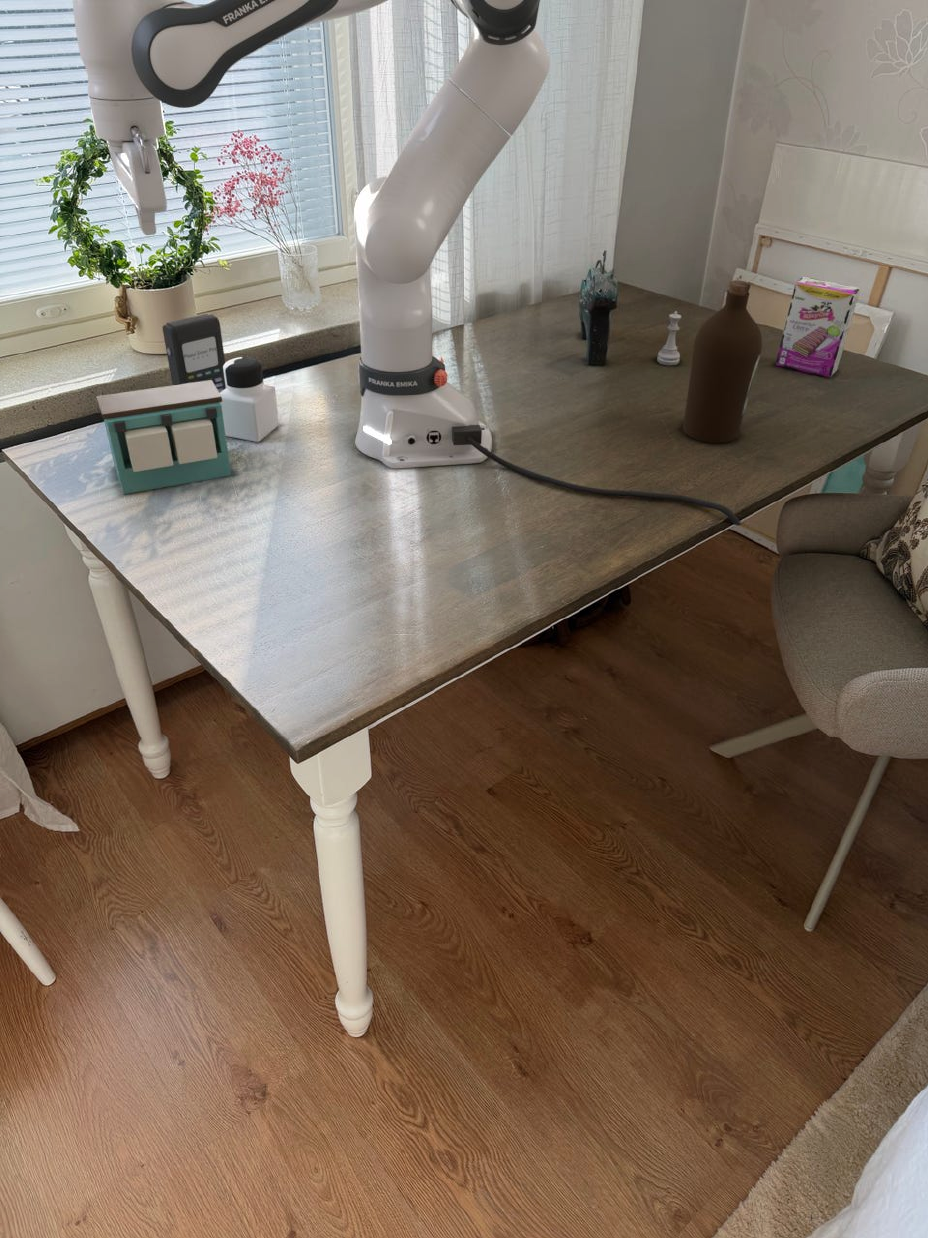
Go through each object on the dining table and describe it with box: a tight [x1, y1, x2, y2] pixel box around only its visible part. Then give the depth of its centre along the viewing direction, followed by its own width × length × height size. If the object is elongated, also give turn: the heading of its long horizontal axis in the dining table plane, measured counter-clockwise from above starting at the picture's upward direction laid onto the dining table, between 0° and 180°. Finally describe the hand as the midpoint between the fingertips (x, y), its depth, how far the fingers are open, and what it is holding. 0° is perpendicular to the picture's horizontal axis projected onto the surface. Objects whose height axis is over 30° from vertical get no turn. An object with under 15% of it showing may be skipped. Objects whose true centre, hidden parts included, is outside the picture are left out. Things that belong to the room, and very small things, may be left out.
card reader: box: [162, 313, 226, 393], centre depth 157 cm, size 9×4×15 cm, turn 131°
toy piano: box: [95, 380, 232, 495], centre depth 138 cm, size 10×17×12 cm, turn 114°
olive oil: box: [682, 279, 763, 444], centre depth 150 cm, size 11×11×25 cm
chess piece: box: [656, 310, 682, 366], centre depth 180 cm, size 4×4×10 cm
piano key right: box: [170, 417, 217, 464], centre depth 135 cm, size 4×6×5 cm, turn 114°
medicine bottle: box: [220, 356, 280, 443], centre depth 150 cm, size 7×7×12 cm
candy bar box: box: [775, 276, 861, 378], centre depth 177 cm, size 11×5×16 cm, turn 58°
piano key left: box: [124, 424, 173, 472], centre depth 133 cm, size 4×6×5 cm, turn 114°
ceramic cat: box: [578, 250, 619, 367], centre depth 181 cm, size 20×6×20 cm, turn 179°
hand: (148, 232), depth 128 cm, fingers closed
